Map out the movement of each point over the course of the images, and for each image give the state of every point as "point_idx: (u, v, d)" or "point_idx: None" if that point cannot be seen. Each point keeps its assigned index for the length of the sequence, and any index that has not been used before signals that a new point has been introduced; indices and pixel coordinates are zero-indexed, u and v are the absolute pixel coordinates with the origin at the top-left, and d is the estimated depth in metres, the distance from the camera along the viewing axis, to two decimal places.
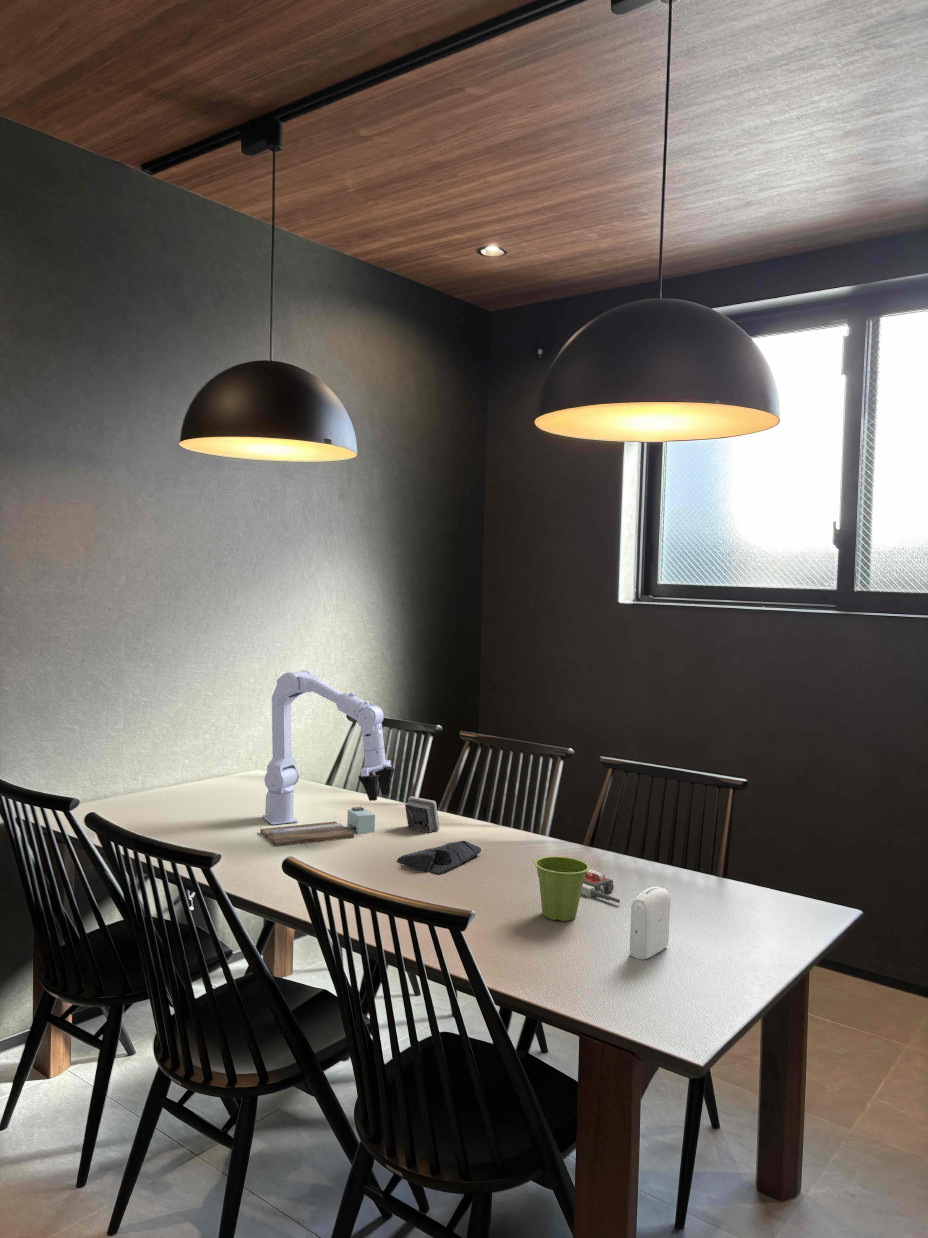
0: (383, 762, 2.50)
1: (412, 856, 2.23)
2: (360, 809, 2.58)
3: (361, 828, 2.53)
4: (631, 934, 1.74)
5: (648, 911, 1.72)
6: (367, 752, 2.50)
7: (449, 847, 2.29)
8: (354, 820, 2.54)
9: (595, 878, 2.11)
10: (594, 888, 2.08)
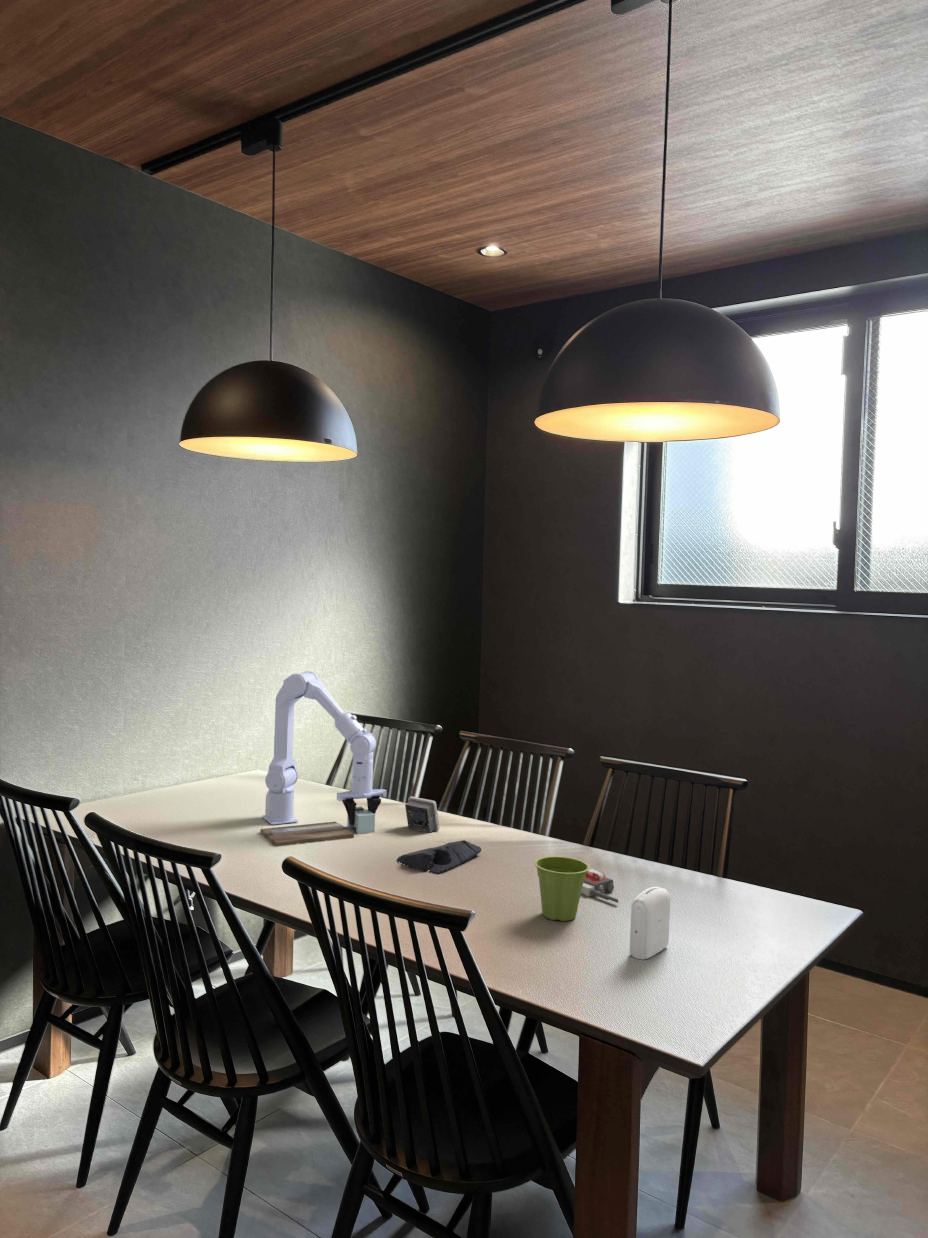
0: (364, 792, 2.54)
1: (411, 855, 2.24)
2: (360, 809, 2.58)
3: (361, 828, 2.53)
4: (631, 934, 1.74)
5: (648, 911, 1.72)
6: (352, 778, 2.56)
7: (449, 847, 2.29)
8: None
9: (595, 878, 2.11)
10: (593, 887, 2.09)
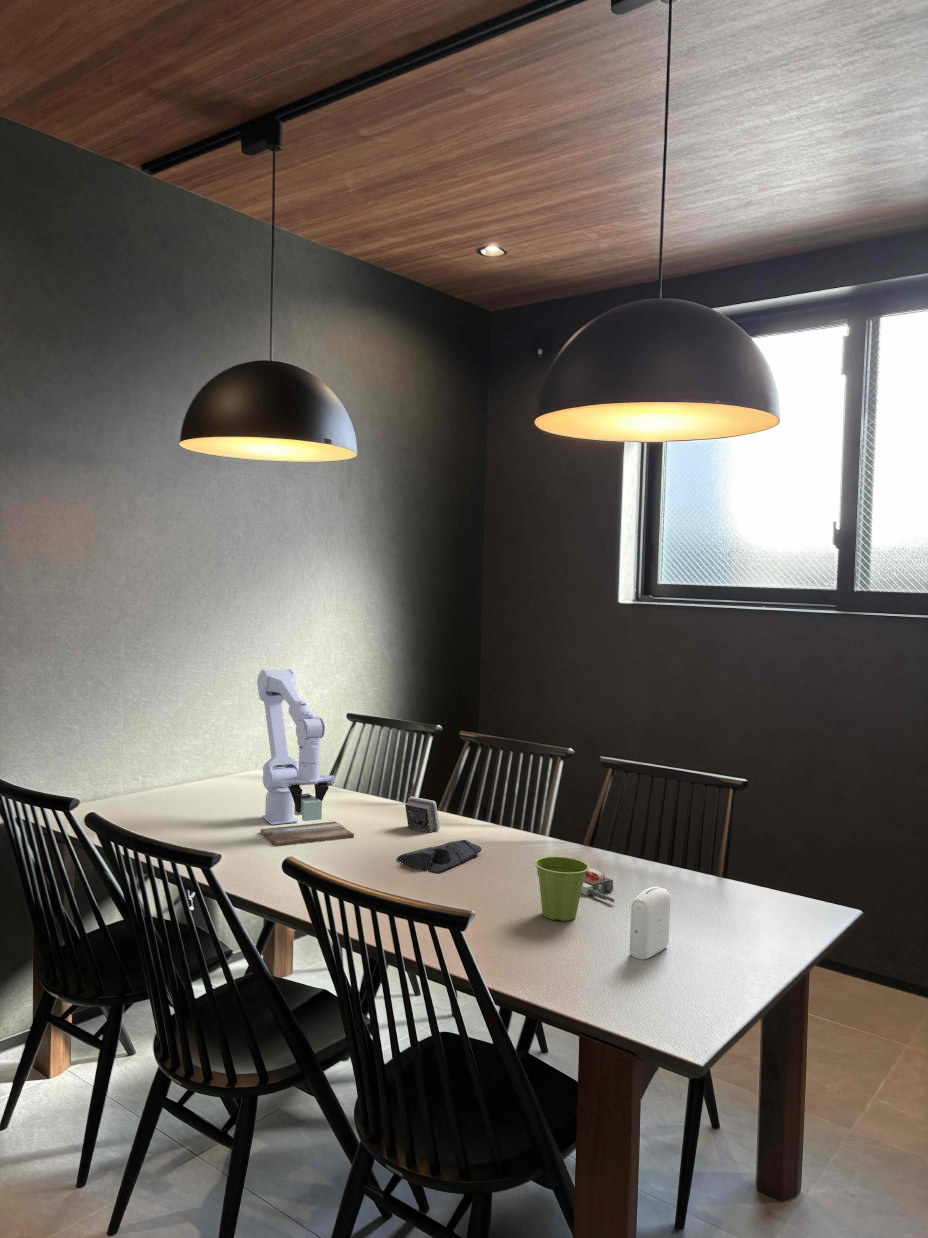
0: (310, 777, 2.46)
1: (411, 855, 2.24)
2: (307, 796, 2.50)
3: (307, 815, 2.45)
4: (631, 934, 1.74)
5: (648, 911, 1.72)
6: None
7: (449, 846, 2.29)
8: (301, 807, 2.46)
9: (594, 877, 2.12)
10: (592, 887, 2.09)
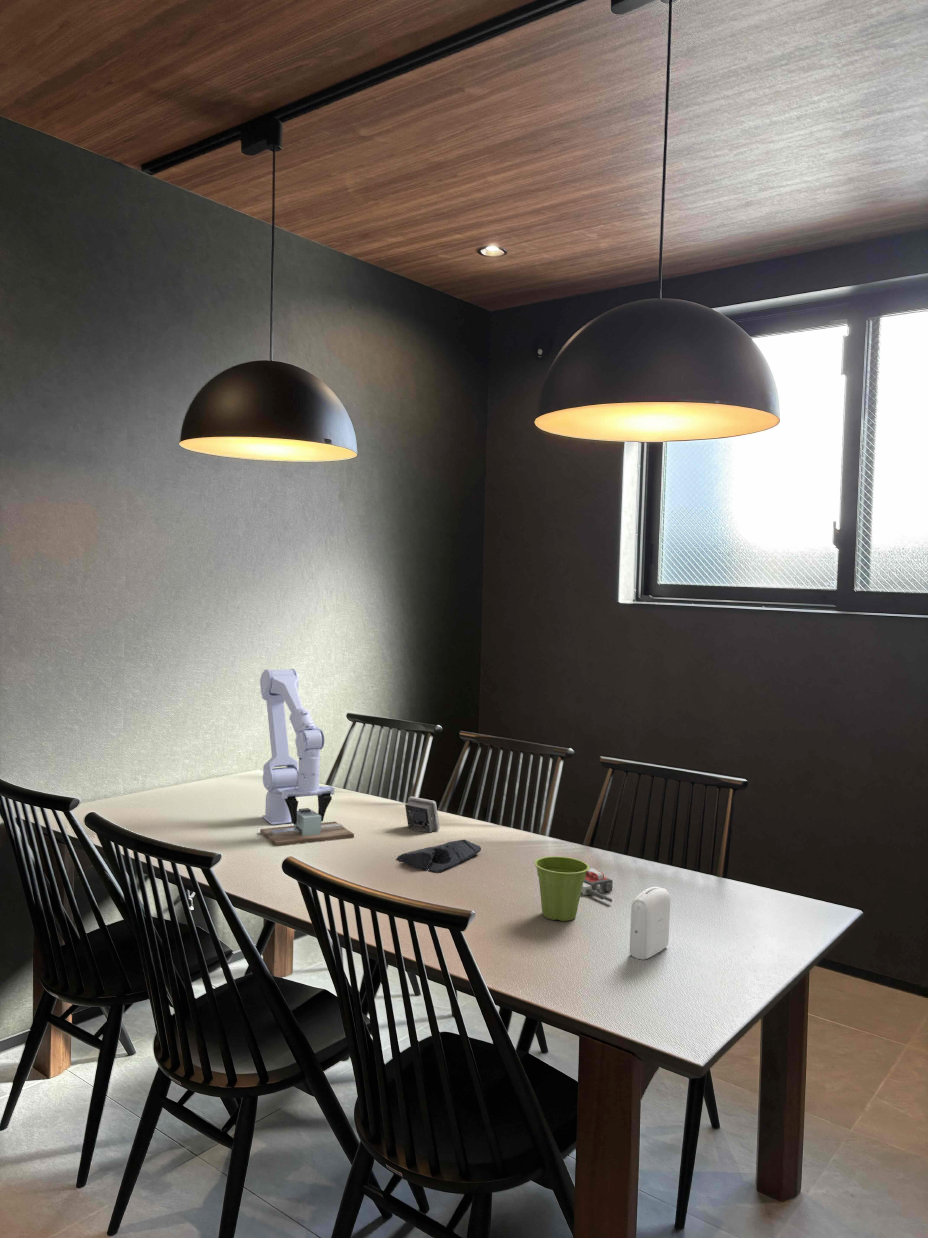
0: (309, 789, 2.46)
1: (411, 854, 2.25)
2: (307, 810, 2.50)
3: (306, 830, 2.45)
4: (631, 934, 1.74)
5: (648, 911, 1.72)
6: (298, 775, 2.48)
7: (448, 846, 2.30)
8: (300, 822, 2.46)
9: (594, 877, 2.12)
10: (590, 887, 2.09)
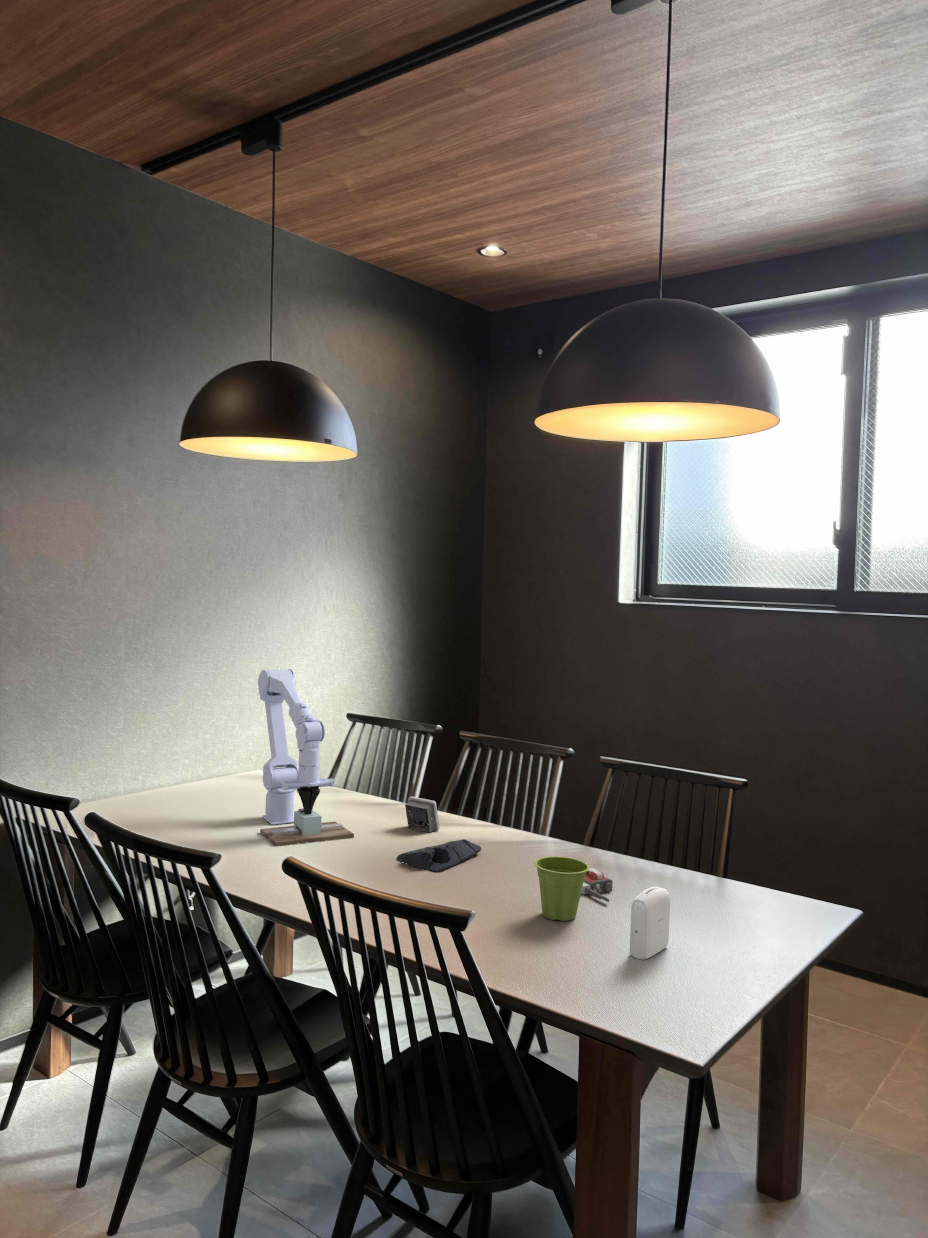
0: (310, 781, 2.46)
1: (411, 854, 2.25)
2: None
3: (306, 830, 2.45)
4: (631, 934, 1.74)
5: (648, 911, 1.72)
6: None
7: (448, 845, 2.30)
8: (300, 822, 2.46)
9: (593, 876, 2.12)
10: (589, 886, 2.09)
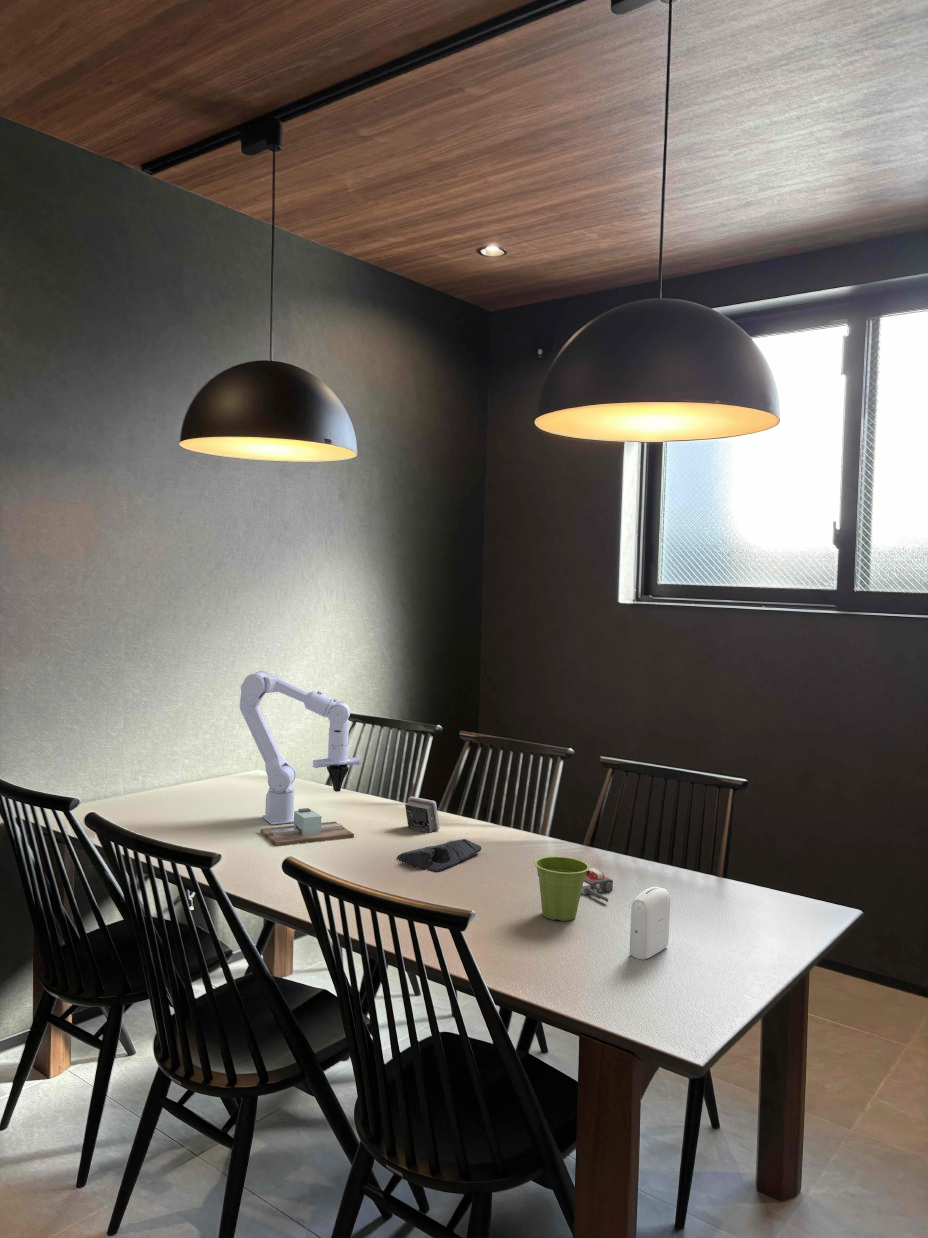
0: (339, 759, 2.59)
1: (411, 853, 2.25)
2: (307, 810, 2.50)
3: (306, 830, 2.45)
4: (631, 934, 1.74)
5: (648, 911, 1.72)
6: (328, 746, 2.61)
7: (448, 845, 2.30)
8: (300, 822, 2.46)
9: (593, 876, 2.12)
10: (589, 886, 2.10)
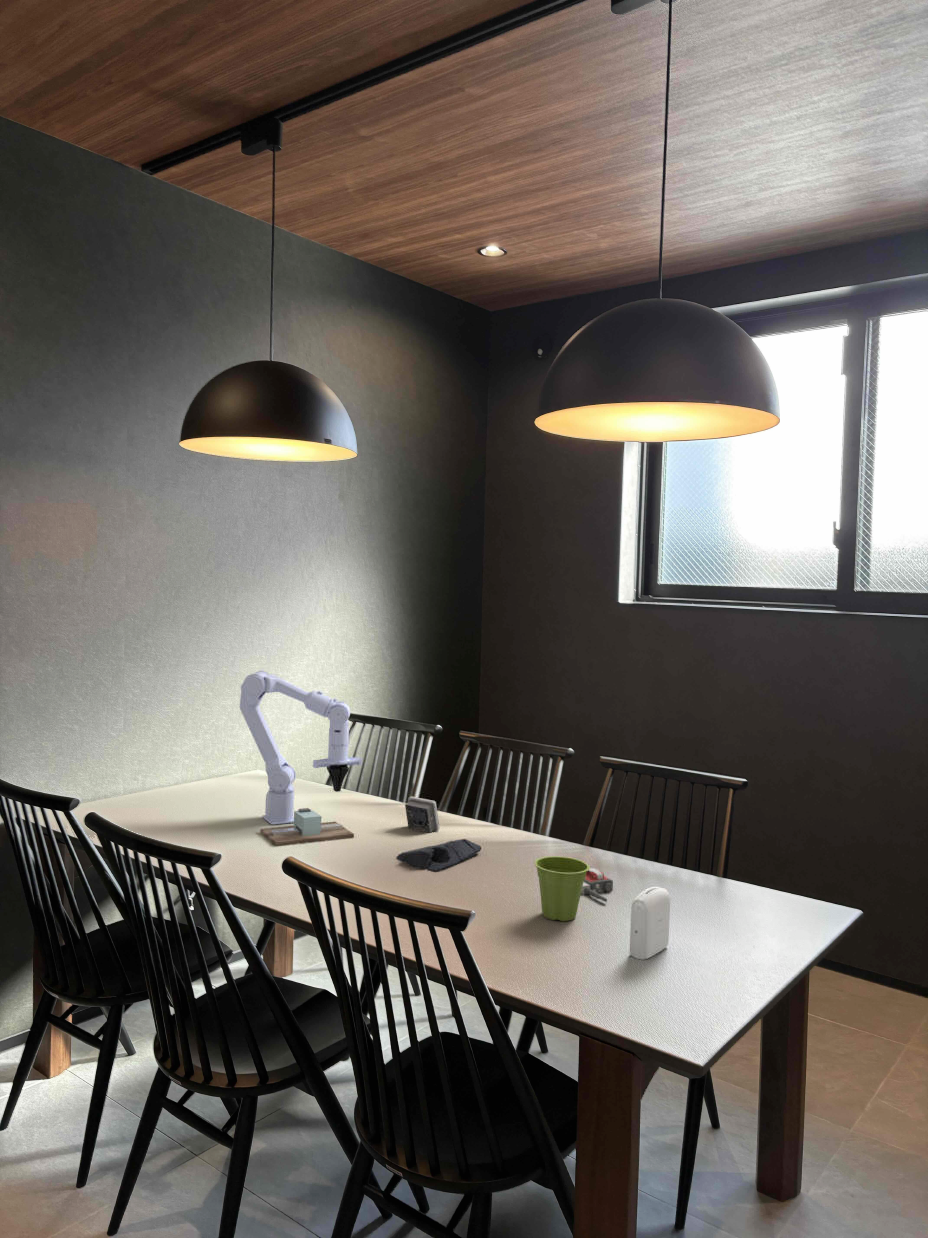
0: (339, 759, 2.59)
1: (410, 853, 2.26)
2: (307, 810, 2.50)
3: (306, 830, 2.45)
4: (631, 934, 1.74)
5: (648, 911, 1.72)
6: (328, 746, 2.61)
7: (448, 845, 2.30)
8: (300, 822, 2.46)
9: (593, 877, 2.12)
10: (589, 886, 2.10)
